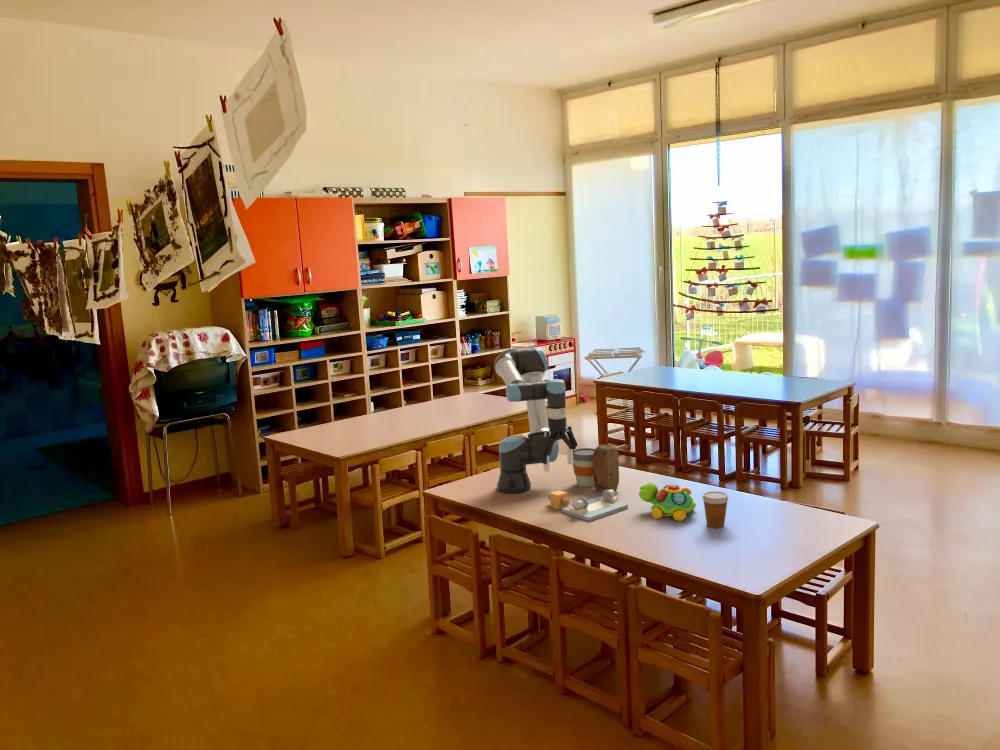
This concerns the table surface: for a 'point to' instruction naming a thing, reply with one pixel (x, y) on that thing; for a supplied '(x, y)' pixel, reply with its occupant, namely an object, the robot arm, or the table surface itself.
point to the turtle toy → (668, 500)
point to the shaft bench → (595, 506)
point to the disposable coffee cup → (715, 508)
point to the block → (606, 467)
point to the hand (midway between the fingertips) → (558, 467)
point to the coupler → (558, 499)
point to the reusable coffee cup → (584, 466)
